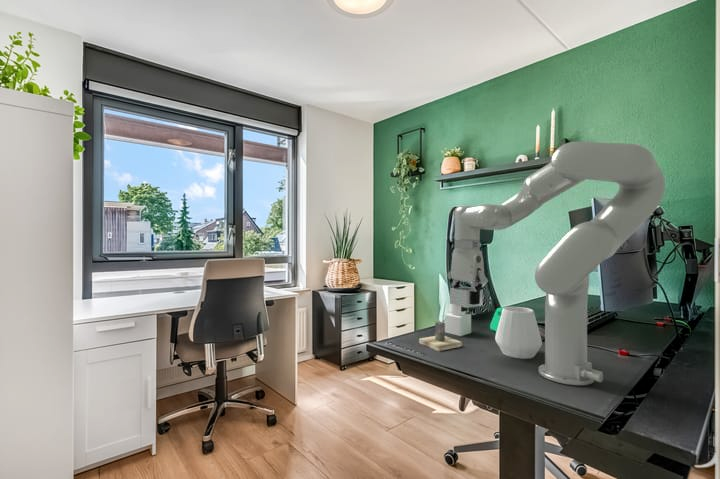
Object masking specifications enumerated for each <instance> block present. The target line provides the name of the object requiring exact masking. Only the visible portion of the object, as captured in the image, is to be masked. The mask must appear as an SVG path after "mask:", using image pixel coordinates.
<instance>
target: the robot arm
mask: <svg viewBox="0 0 720 479" xmlns="http://www.w3.org/2000/svg"><path fill="white" fill-rule="evenodd" d="M586 180H589V181H600V182H609V183H616V184H618V186H619V189H618V191H617V193H616V194H615V195H614V196H613V197H612V198H611V199H610V200H609V201H608V202H607V203H606V204H605V205H604V206H603V208H602V209H601V210H600V211H599V212H598V213H597V214H596V215H594V217H593V218H592V219H591V220H590V221H584V222H582V223H578V224H576V225H575V226H574V227H572V228H571V229H570V230H568V231H567V233H565V234H564V236H562V238H560V240H559V241H558V242H557V243H556V244H555V245H554V246H553V248H552V249H551V250H550V251H549V252H548V253H547V254H546V255H545V256H544V258H542V259H541V261H540V262H539V263H538V265H537V266H536V269H535V270H534V271H535V272H534V280H535V283H536V285H537V287H538V288H539V289H540V291H543V293H545V302H544V303H545V304H544V364H541V365H539V366H538V373H539V375H540V376H541V377H543V378H545V379H547V380H550V381H552V382H556V383H560V384H564V385H569V386H589V385H592V384H593V383H595V382H596V383H597V382H598V383H602V382H603V380H604V375H603V374H604V373H603V371H601V370H596V369H593V368H592V366H593V365H592V362H590V361H588V301H589V300H588V299H589V298H588V297H589V288H590V286H589V284H590V274H591V273H592V272H593V271H594V270H595V269H596V268H598V267H599V266H600V264H602V262H604V261H605V260H608V259H609V258H611V257H613V256H614V255H615V254H616V252H617V251H618V249H620V248H621V246H622V245H623V244H624V243H625V242H626V241H627V240H629V238H630V237H631V236H632V235H633V234H634V233H635V232H636V231H637V230H638V229H639V228H640V227H641V226H642V225H643V224H644V223H645V222H646V220H648V219H649V218H650V217H651V216H652V214H653V213H654V212H655V211H656V210H657V208H658V207H659V206H660V204H661V202H662V200H663V197H664V194H665V190H666V183H665V182H666V181H665V177H664V174H663V172H662V170H661V168H660V166H659V164H658V162H657V160H656V158H655V157H654V156H653V154H652V152H651V151H650V150H649V149H647V148H646V147H644V146H642V145H639V144H635V143H624V142H623V143H619V142H600V141H599V142H597V141H596V142H595V141H569V142H566V143H564V144H562V145H560V146H558V148H556V150H554V152H553V154H552V157H551V161H550V162H549V163H548V164H546V165H544V166H543V167H541V168H540V169H537V170H536V171H535V172H533V173H532V174H530V175H528V176H527V177H526V178H525V179H524V180H523V184H522V187H521V189H520V190H519V191H518V192H517V193H515V195H514V196H512V197H510V198H509V199H508V200H506V201H504V202H503V203H501V204H499V205H498V204H493V203H492V204H490V203H486V204H485V203H484V204H480V205H475V206H473V205H464V206H463V205H462V206H457V207H456V209H455V212H454V249H453V251H452V257H451V265H450V266H451V267H450V270H449V272H447V274H446V276H447V278H448V281H449V283H450V285H451V287H450V288H456V287H461V284H462V283H463V282H465V283H469V284H470V287H471V288H472V290H473V291H471V304H472V305H476V304H480V291H482V290H483V289H484V288H485V286H486V285H487V284H488V282H489V280H488V278H487V277H486V275H485V268H484V267H485V266H484V265H485V264H484V263H485V262H484V256H483V252H482V250H480V247H482V243H481V241H480V240H481V238H480V236H481V235H480V234H481V230H486V231H487V230H488V231H489V230H490V231H493V230H494V231H501V230H506V229H508V228H510V227H511V226H514V225H516V224H517V223H519V222H520V221H523V220H524V219H525V218H528V217H529V216H530V215H531V214H533V213H534V212H536V211H537V210H538V209H540V208H541V207H542V206H543V205H544V204H546V203H547V202H549V201H551V200H553V199H554V198H556V197H558V196H559V195H562V194H564V193H565V192H566V191H569V190H570V189H572V188H573V187H576V185H579V184H580V183H582V182H584V181H586Z"/></svg>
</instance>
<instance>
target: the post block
mask: <svg viewBox="0 0 720 479" xmlns="http://www.w3.org/2000/svg"><path fill="white" fill-rule="evenodd" d="M434 325H435V326H434V328H435V333H434V335H433V336H426V337H422V338H421V337H420V338H419V339H418V343H419V344H421V345H423V346H425V347H427V348H430V349H432V350H435V351H437V352H441V351H446V350H450V349H455V348H460V347H462V344H463V343H462V341H460V340H457V339H455V338H451V337H448V336H447V335H446V333H445V322H443V321H435V323H434Z"/></svg>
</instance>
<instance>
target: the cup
mask: <svg viewBox="0 0 720 479" xmlns="http://www.w3.org/2000/svg"><path fill="white" fill-rule="evenodd" d="M502 308H503V310H502V314H501V318H500V321H499V325H498V329H497V332H496V331H495V337H494V339H495V342H496V344H497V345H498V348H499V349H500V351H501V352H502V354H503V355H505V356H506V357H510V358H515V359H521V360H526V359H527V360H528V359H533V358H534V357H536V355H537V353H538V352H539V350H540V349H541V347H542V344H543V340H542V336H541V333H540V329H539V326H538V323H537V318H536V314H535V311H534V309H531V308H529V307H521V306H504V307H502Z"/></svg>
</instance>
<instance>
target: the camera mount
mask: <svg viewBox="0 0 720 479" xmlns="http://www.w3.org/2000/svg"><path fill="white" fill-rule="evenodd" d="M503 308H504V307H497V308H496V309H495V312H494V314H493V317H492V320H491V322H490V324H489V329H490V330H493V331H494V332H495V333H496V332H497V329H498V325H499V321H500V318H501V314H502V310H503Z"/></svg>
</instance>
